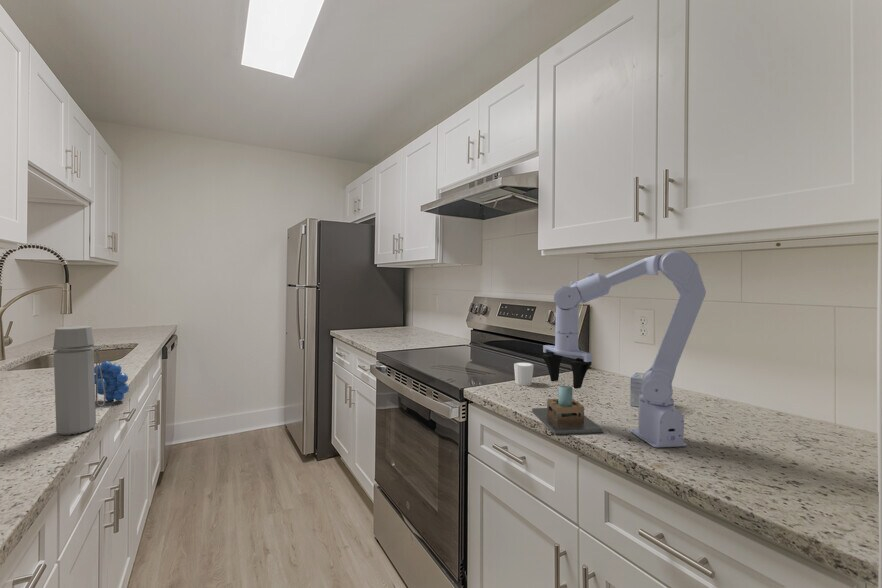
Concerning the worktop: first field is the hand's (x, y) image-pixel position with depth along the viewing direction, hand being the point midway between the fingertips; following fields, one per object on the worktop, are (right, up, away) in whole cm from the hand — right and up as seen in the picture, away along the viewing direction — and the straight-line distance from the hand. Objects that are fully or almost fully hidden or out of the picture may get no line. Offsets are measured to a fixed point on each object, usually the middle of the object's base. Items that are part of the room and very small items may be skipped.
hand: (565, 384), depth 103 cm
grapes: (-131, -9, +14) cm, 132 cm away
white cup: (-3, -9, +37) cm, 38 cm away
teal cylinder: (0, -9, 0) cm, 9 cm away
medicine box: (+27, -10, +16) cm, 33 cm away
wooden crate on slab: (0, -10, 0) cm, 10 cm away
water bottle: (-120, -10, -7) cm, 121 cm away
